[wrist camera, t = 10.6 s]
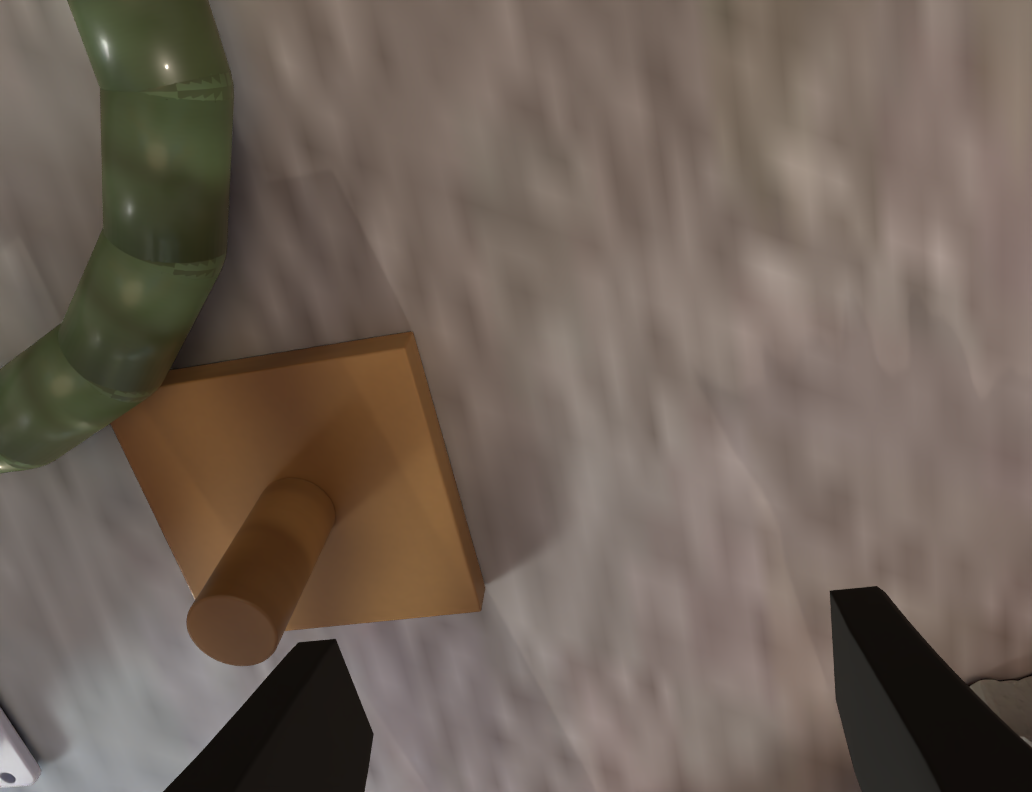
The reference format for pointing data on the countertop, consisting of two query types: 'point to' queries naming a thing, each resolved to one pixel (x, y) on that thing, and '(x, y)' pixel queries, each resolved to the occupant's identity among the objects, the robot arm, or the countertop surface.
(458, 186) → the countertop surface
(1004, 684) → the egg carton
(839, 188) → the countertop surface
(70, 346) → the ring
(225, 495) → the ring stand
